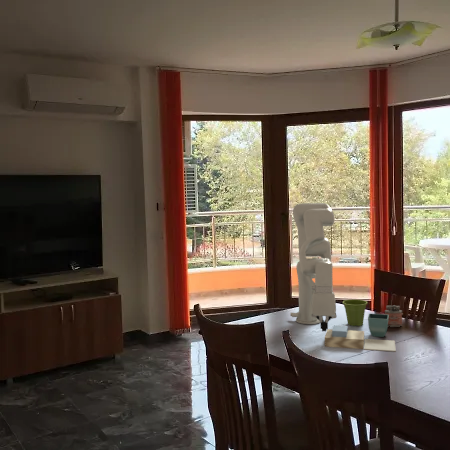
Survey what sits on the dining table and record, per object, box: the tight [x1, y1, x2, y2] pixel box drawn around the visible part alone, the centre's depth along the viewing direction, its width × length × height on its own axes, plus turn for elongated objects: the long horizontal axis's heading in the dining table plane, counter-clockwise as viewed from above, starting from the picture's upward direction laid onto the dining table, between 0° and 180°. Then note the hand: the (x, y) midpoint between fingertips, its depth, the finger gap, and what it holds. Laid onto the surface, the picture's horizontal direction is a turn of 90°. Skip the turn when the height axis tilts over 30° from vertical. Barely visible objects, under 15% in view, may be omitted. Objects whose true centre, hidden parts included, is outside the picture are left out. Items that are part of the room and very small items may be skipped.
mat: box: [363, 338, 397, 352], centre depth 217 cm, size 12×14×1 cm
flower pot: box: [367, 313, 389, 338], centre depth 232 cm, size 9×9×9 cm
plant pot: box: [342, 298, 368, 327], centre depth 251 cm, size 12×12×11 cm
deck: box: [324, 328, 365, 350], centre depth 221 cm, size 16×13×4 cm
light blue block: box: [332, 324, 349, 337], centre depth 222 cm, size 6×9×2 cm, turn 163°
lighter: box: [384, 304, 403, 328], centre depth 247 cm, size 8×3×10 cm, turn 84°
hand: (324, 330), depth 224 cm, fingers closed
